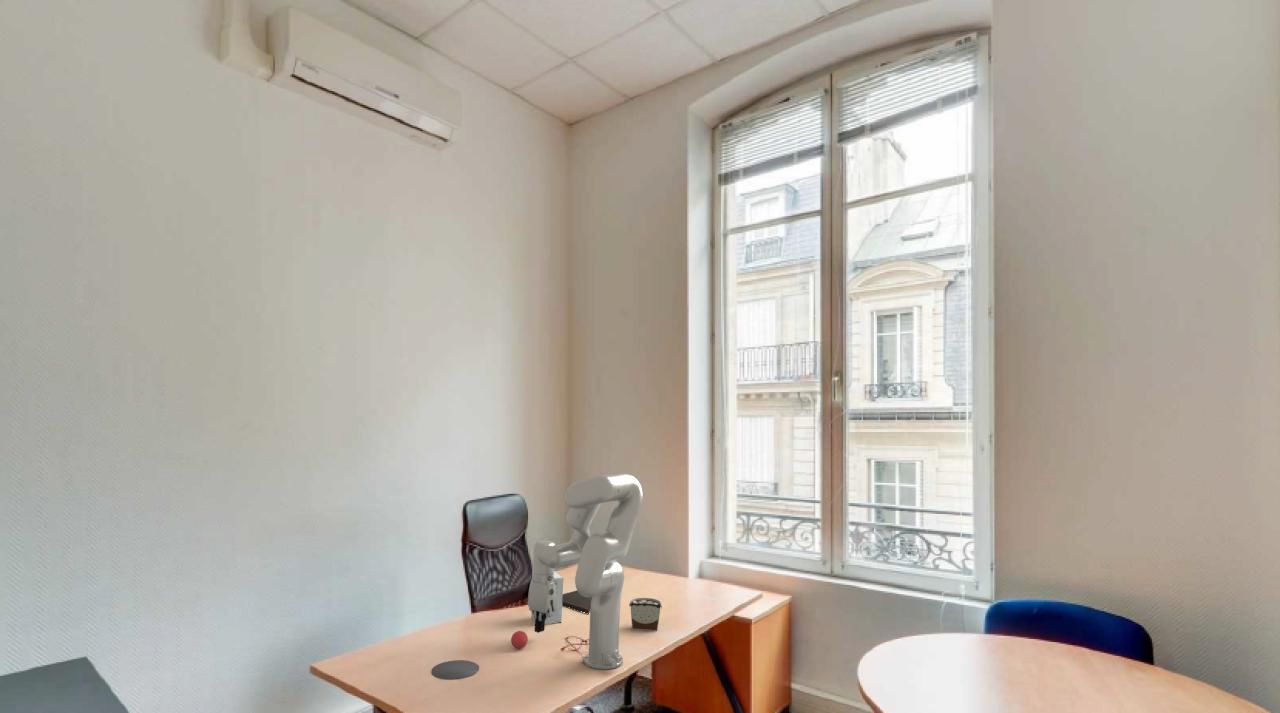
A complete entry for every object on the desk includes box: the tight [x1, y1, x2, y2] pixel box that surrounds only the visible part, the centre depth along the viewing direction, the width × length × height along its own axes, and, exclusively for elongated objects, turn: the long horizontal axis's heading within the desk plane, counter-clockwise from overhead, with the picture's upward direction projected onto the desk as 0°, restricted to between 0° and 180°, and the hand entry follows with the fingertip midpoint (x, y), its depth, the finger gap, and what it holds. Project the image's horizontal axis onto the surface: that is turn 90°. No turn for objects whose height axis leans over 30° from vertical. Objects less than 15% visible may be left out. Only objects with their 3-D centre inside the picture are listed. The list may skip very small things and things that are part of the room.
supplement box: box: [530, 571, 564, 625], centre depth 244 cm, size 10×9×17 cm
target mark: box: [431, 659, 480, 680], centre depth 196 cm, size 14×14×1 cm
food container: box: [628, 597, 663, 632], centre depth 240 cm, size 12×6×10 cm, turn 84°
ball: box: [510, 630, 528, 650], centre depth 215 cm, size 6×6×6 cm
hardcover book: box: [562, 590, 592, 615], centre depth 266 cm, size 16×23×2 cm
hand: (539, 631), depth 223 cm, fingers closed
